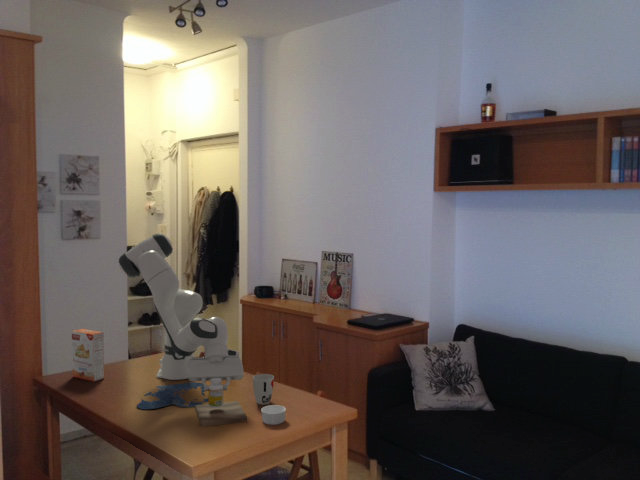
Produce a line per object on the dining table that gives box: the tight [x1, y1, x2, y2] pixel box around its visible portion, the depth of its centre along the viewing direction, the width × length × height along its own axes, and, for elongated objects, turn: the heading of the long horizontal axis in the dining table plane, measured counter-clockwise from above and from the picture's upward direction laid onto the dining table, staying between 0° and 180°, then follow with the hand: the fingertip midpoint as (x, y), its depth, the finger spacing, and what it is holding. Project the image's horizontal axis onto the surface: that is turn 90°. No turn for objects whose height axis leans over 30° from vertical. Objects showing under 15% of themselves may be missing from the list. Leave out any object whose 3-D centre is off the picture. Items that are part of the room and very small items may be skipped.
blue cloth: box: [136, 381, 209, 410], centre depth 234 cm, size 27×29×1 cm
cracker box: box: [71, 328, 105, 382], centre depth 256 cm, size 14×6×21 cm, turn 60°
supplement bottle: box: [208, 378, 224, 407], centre depth 213 cm, size 5×5×10 cm
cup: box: [252, 373, 275, 405], centre depth 226 cm, size 8×8×10 cm
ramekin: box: [260, 404, 287, 426], centre depth 207 cm, size 9×9×4 cm
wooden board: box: [194, 400, 248, 427], centre depth 212 cm, size 18×16×2 cm
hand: (216, 390), depth 213 cm, fingers closed on supplement bottle, 5 cm apart
